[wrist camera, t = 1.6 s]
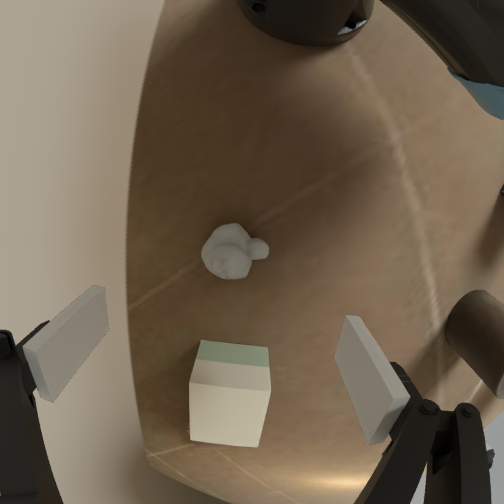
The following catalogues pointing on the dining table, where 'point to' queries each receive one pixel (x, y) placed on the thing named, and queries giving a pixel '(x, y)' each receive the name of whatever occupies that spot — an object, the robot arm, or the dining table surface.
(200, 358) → the cream and green box
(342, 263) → the dining table surface
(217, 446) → the brick
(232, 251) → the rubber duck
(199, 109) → the dining table surface
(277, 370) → the dining table surface
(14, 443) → the robot arm
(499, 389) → the pillar candle
